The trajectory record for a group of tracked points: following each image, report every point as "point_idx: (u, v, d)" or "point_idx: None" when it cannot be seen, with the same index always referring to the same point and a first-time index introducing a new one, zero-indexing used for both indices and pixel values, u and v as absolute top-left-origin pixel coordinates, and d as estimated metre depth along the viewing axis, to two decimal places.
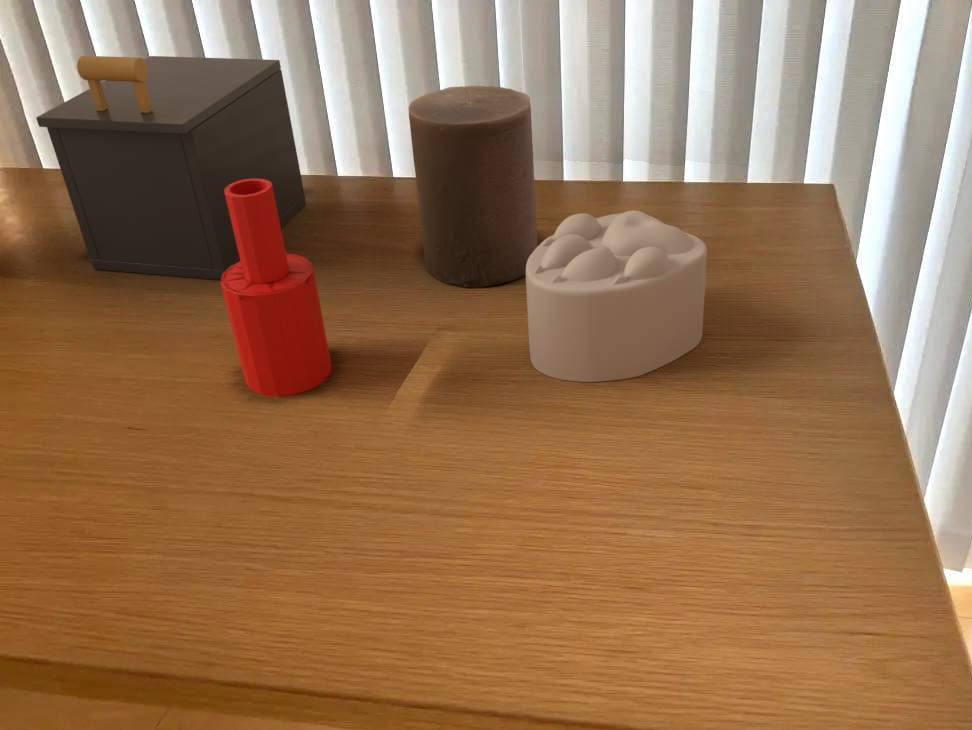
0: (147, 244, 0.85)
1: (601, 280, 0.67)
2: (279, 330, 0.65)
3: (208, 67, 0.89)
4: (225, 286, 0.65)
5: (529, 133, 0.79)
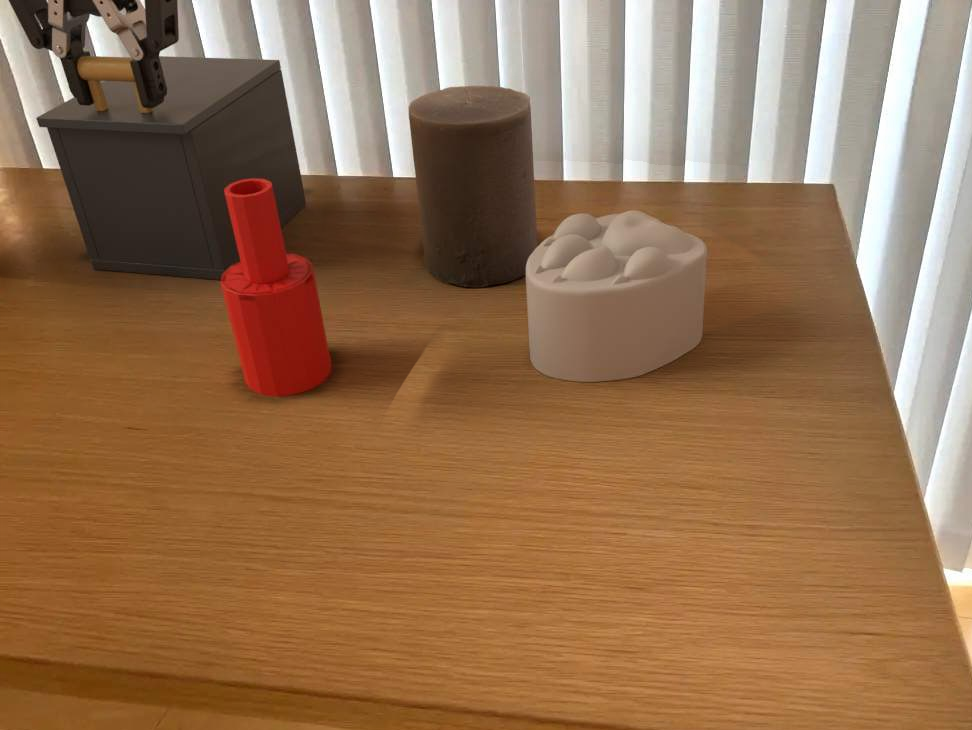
0: (147, 244, 0.85)
1: (601, 280, 0.67)
2: (279, 330, 0.65)
3: (208, 67, 0.89)
4: (225, 286, 0.65)
5: (529, 133, 0.79)
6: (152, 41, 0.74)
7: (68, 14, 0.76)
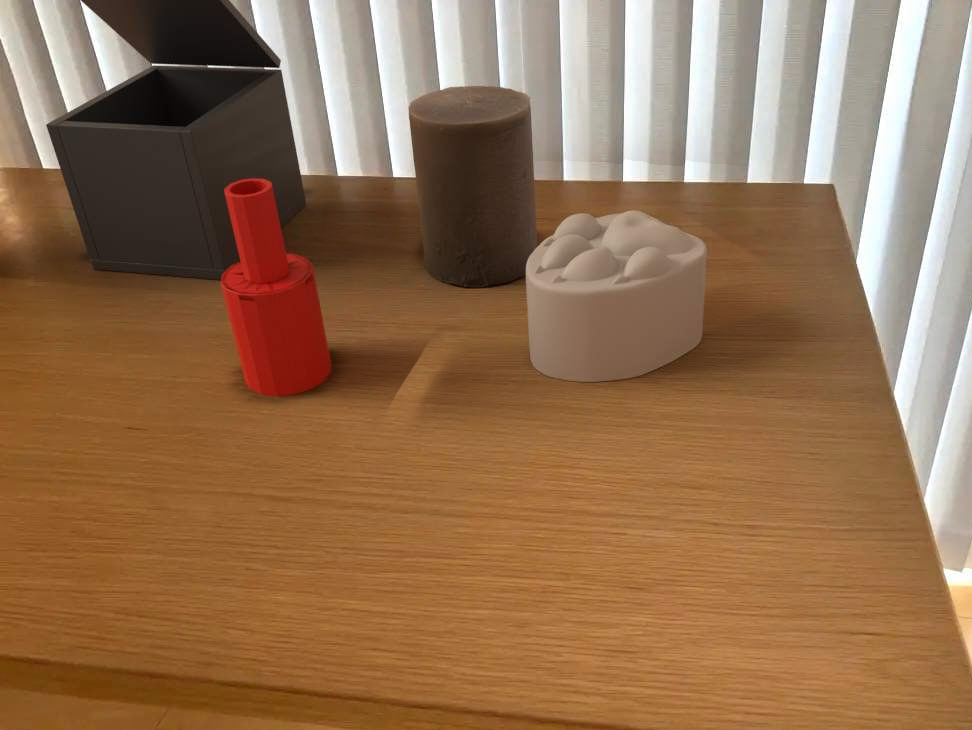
0: (147, 244, 0.85)
1: (601, 280, 0.67)
2: (279, 330, 0.65)
3: None
4: (225, 286, 0.65)
5: (529, 133, 0.79)
6: None
7: None
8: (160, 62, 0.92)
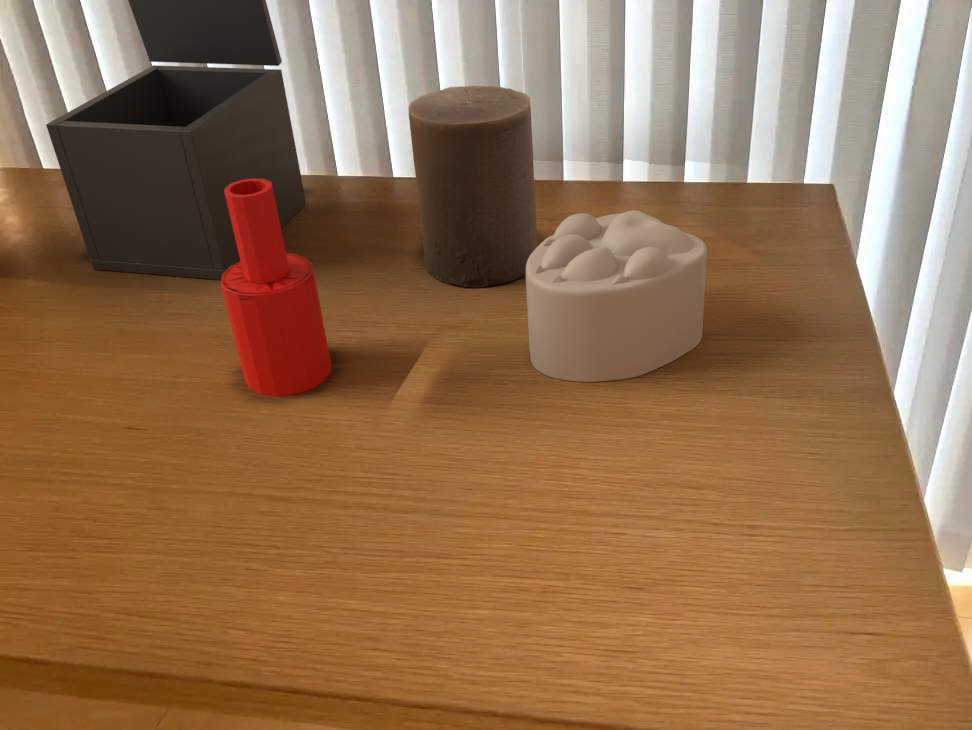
0: (147, 244, 0.85)
1: (601, 280, 0.67)
2: (279, 330, 0.65)
3: None
4: (225, 286, 0.65)
5: (529, 133, 0.79)
6: None
7: None
8: (160, 58, 0.92)
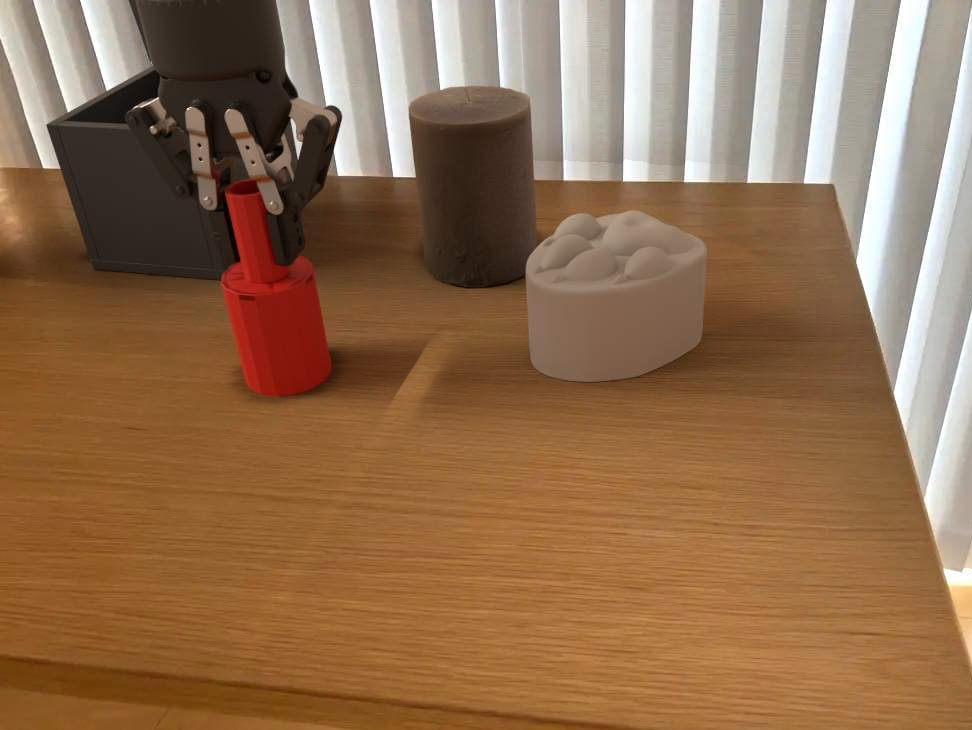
0: (147, 244, 0.85)
1: (601, 280, 0.67)
2: (279, 330, 0.65)
3: None
4: (225, 286, 0.65)
5: (529, 133, 0.79)
6: (297, 194, 0.61)
7: None
8: None
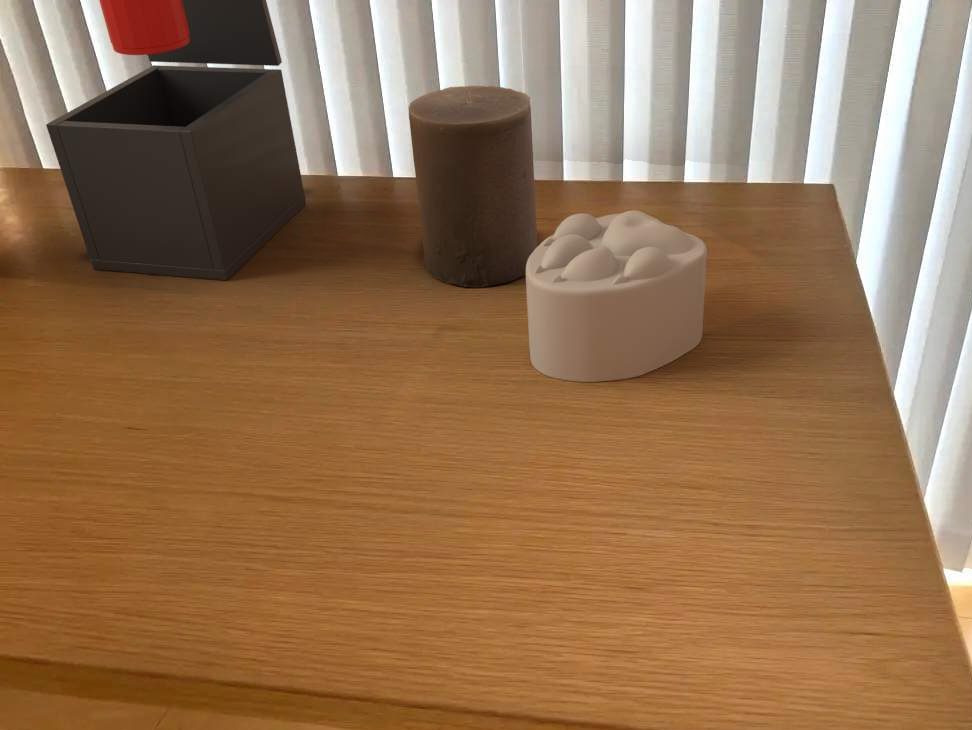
0: (147, 244, 0.85)
1: (601, 280, 0.67)
2: None
3: None
4: None
5: (529, 133, 0.79)
6: None
7: None
8: (160, 58, 0.92)
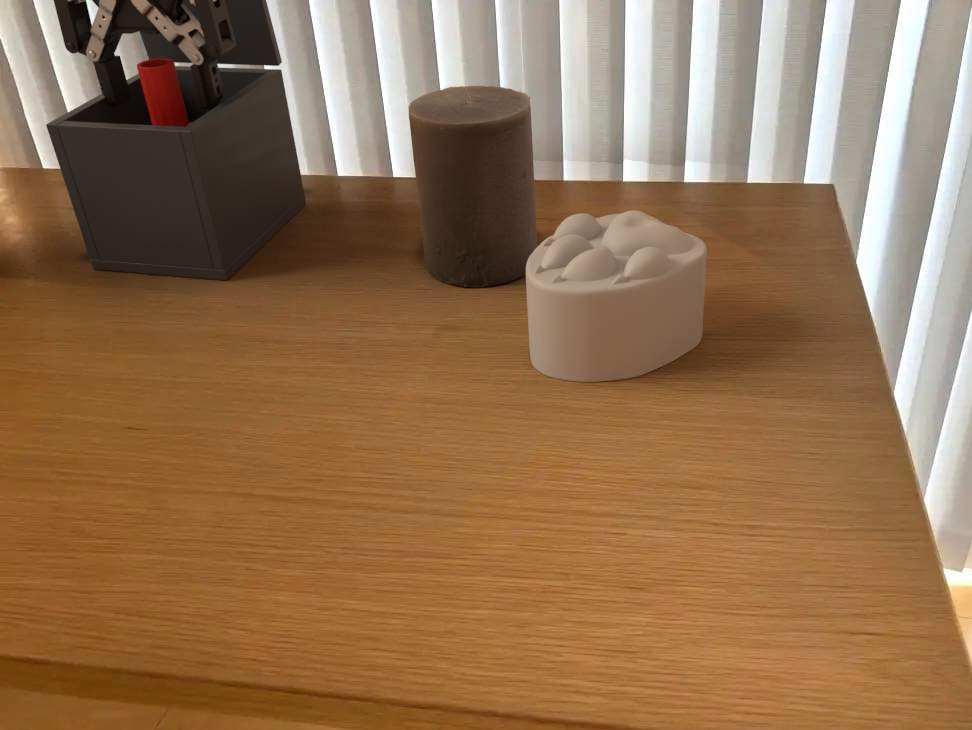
0: (147, 244, 0.85)
1: (601, 280, 0.67)
2: None
3: None
4: None
5: (529, 133, 0.79)
6: (212, 47, 0.80)
7: None
8: None
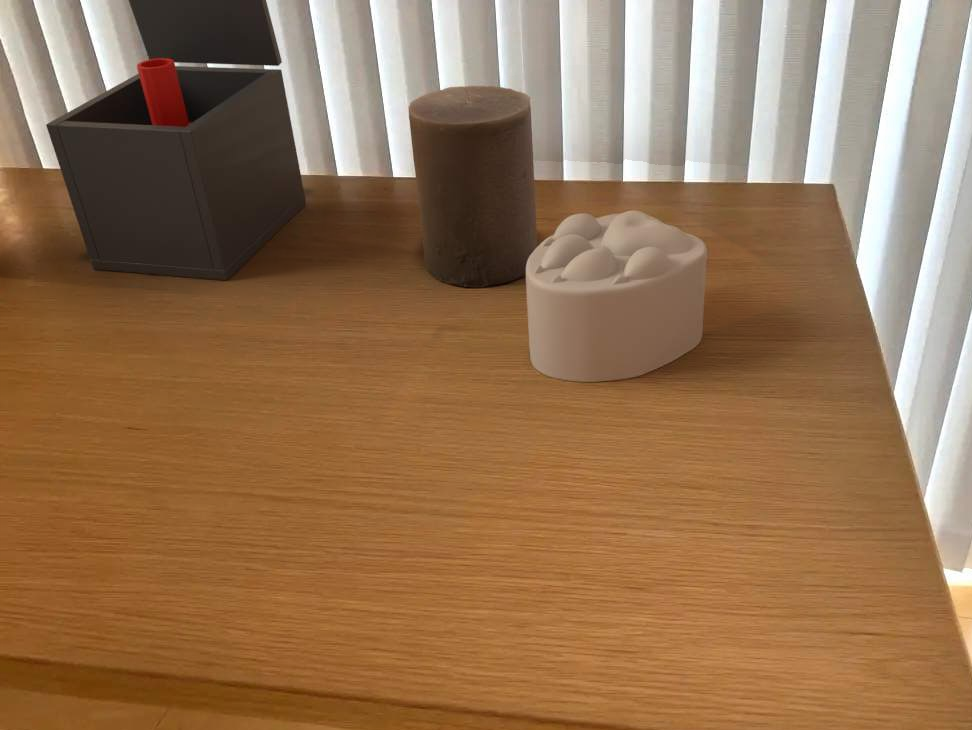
0: (147, 244, 0.85)
1: (601, 280, 0.67)
2: None
3: None
4: None
5: (529, 133, 0.79)
6: None
7: None
8: None
